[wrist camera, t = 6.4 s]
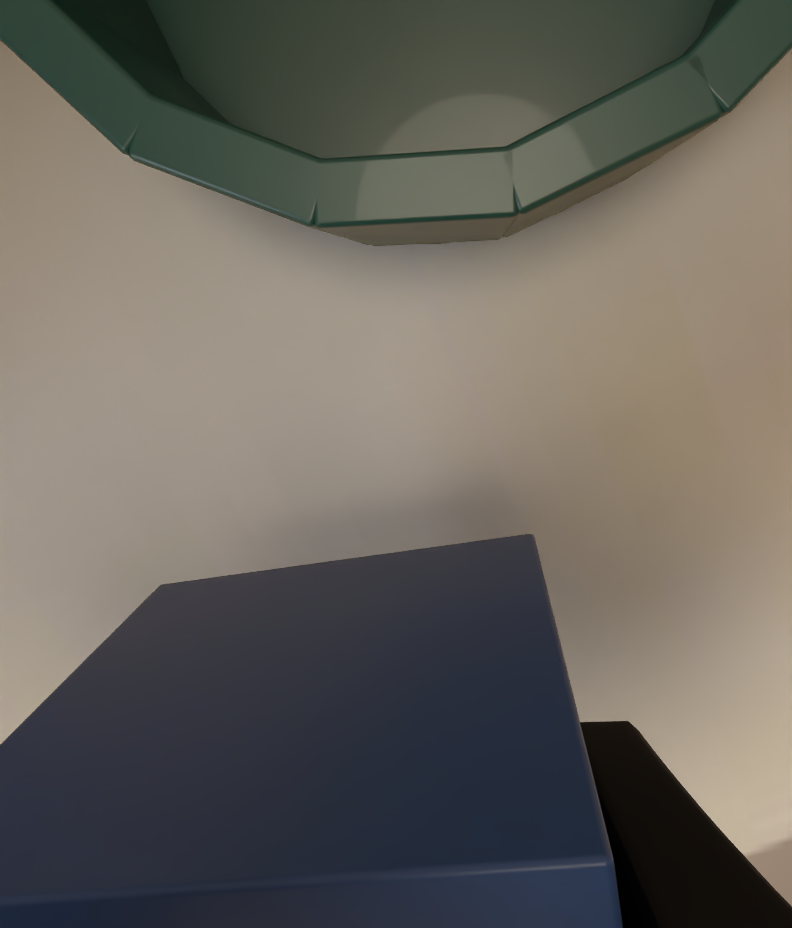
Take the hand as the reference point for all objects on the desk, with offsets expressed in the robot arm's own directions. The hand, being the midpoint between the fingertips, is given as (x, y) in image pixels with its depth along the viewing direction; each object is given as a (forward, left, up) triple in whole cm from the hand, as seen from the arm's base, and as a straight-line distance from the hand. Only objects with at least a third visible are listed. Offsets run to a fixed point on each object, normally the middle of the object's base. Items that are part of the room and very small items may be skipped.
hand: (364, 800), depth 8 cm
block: (0, 0, -1) cm, 1 cm away
